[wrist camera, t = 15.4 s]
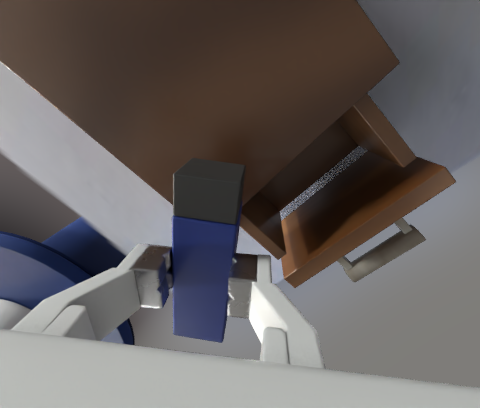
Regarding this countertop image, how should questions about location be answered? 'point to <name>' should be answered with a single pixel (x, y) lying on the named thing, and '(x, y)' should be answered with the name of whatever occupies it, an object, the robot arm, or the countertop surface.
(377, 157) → the drawer
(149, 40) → the cabinet
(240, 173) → the blue and gray block
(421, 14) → the countertop surface
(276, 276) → the countertop surface
